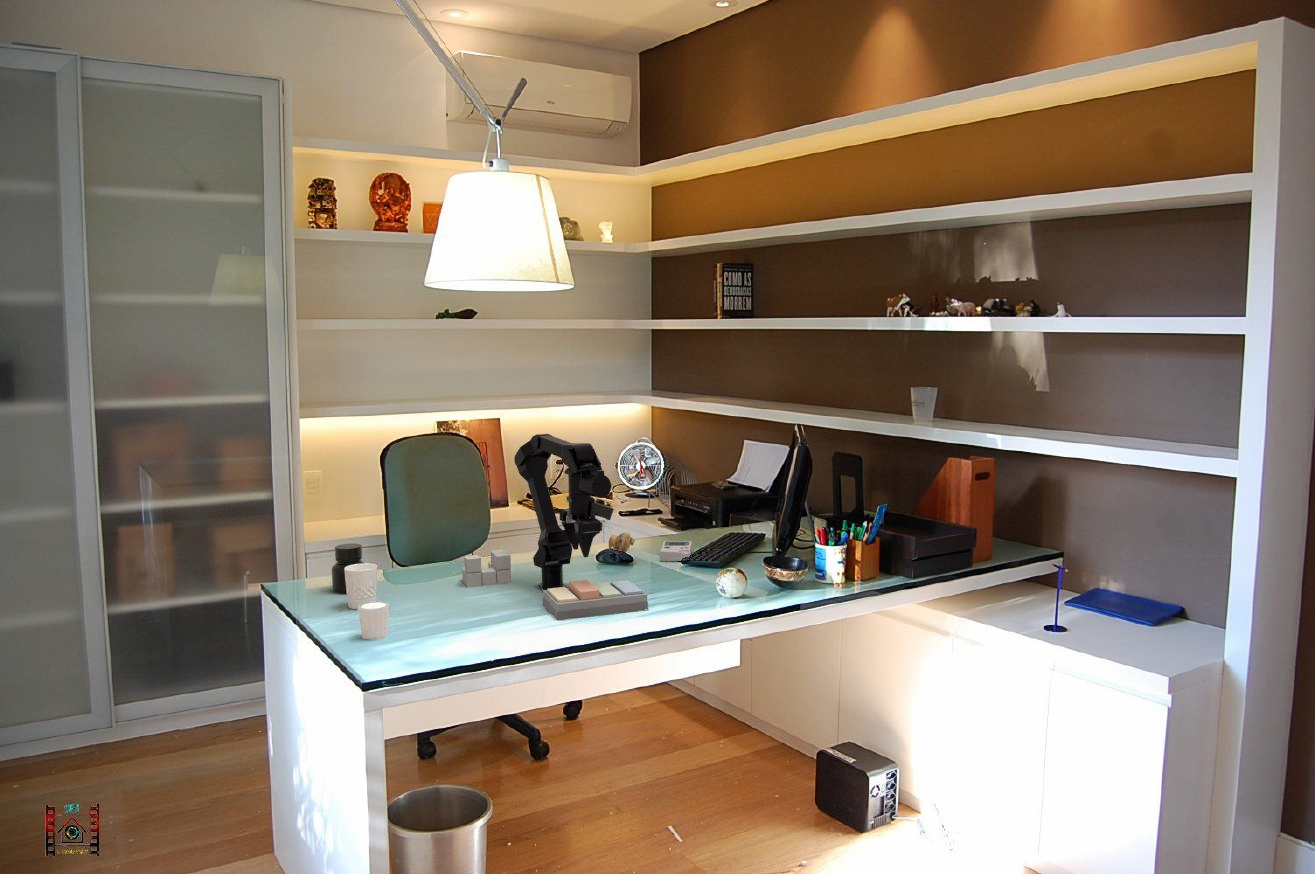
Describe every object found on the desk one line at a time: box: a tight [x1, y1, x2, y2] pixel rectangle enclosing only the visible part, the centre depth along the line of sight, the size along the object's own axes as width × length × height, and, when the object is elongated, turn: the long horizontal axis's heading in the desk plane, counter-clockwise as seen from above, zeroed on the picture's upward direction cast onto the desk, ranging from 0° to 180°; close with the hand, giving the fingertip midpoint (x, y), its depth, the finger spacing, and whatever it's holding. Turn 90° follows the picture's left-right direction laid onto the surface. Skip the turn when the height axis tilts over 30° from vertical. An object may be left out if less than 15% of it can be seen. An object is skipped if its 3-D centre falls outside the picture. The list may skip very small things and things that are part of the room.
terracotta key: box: [568, 579, 599, 601], centre depth 237 cm, size 11×5×2 cm, turn 21°
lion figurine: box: [608, 532, 636, 553], centre depth 290 cm, size 15×5×9 cm, turn 32°
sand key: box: [547, 587, 577, 603], centre depth 235 cm, size 11×5×2 cm, turn 21°
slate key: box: [611, 580, 644, 596], centre depth 241 cm, size 11×5×2 cm, turn 21°
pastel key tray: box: [542, 583, 649, 621], centre depth 238 cm, size 14×23×4 cm, turn 111°
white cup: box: [344, 562, 378, 610], centre depth 240 cm, size 8×8×10 cm
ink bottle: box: [331, 543, 365, 595], centre depth 255 cm, size 10×9×12 cm
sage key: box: [591, 582, 621, 598], centre depth 239 cm, size 11×5×2 cm, turn 21°
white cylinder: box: [357, 601, 390, 640], centre depth 217 cm, size 7×7×7 cm
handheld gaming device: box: [659, 540, 693, 562], centre depth 292 cm, size 9×15×4 cm, turn 175°
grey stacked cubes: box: [461, 548, 512, 588], centre depth 266 cm, size 12×12×8 cm
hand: (580, 553), depth 245 cm, fingers open, 9 cm apart
